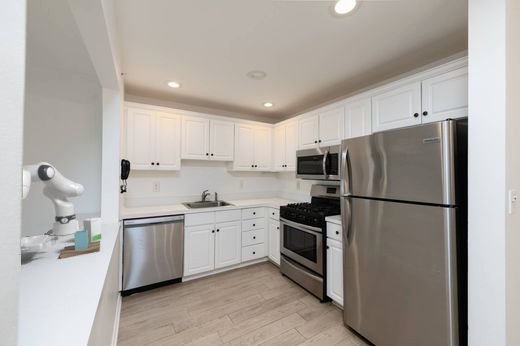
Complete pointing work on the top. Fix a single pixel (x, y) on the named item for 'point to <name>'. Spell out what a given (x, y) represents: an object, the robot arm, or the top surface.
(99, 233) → the skincare box
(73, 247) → the base
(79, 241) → the teal pencil cup
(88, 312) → the top surface
